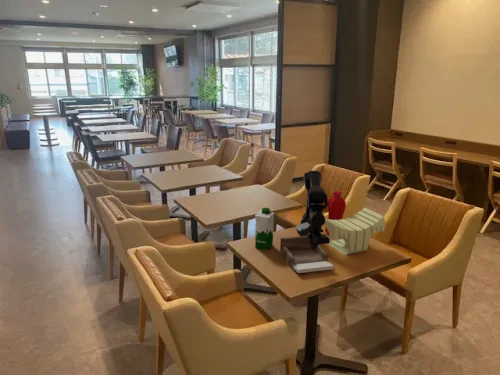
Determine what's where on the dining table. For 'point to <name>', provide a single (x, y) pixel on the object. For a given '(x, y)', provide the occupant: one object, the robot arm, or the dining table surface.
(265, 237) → the milk carton
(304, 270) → the panel
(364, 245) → the slatted curved stool
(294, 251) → the brown open box
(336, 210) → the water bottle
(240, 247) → the dining table surface
